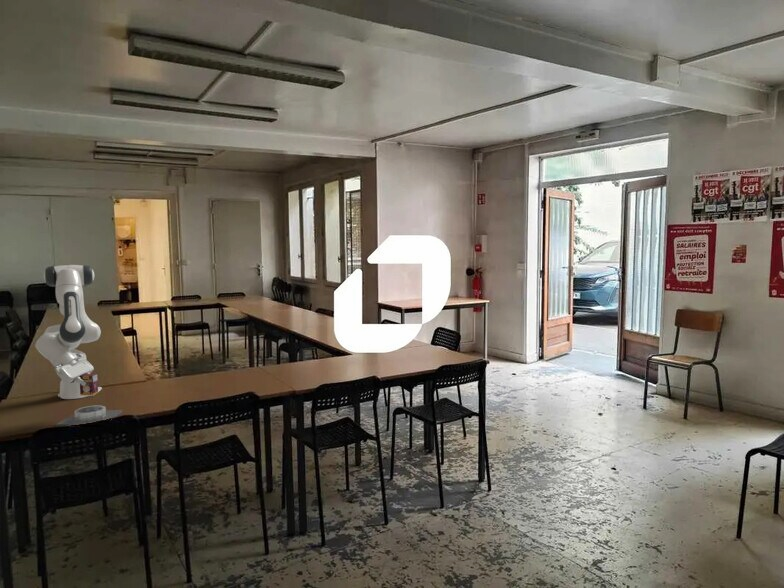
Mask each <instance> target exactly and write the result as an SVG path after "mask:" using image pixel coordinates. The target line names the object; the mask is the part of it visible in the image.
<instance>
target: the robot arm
mask: <svg viewBox="0 0 784 588" xmlns="http://www.w3.org/2000/svg"><path fill="white" fill-rule="evenodd" d="M95 276H96V275H95V272H94V269H93V268H92V266H90V265H87V264H83V265H81V264H68V265H67V264H66V265H65V264H64V265H50V266H47V267H45V270H44V272H43V280H44V282H45V285H47V286H49V287H54V288H55V299H56V302H57V304H59V306H58V307H59V313H60V314H61V315H62V316H63V321H62V322H61V323H60V324H54V325H51V326H47V328H46V329H45V330H44V332H43V333H42V334H41V335H40V336H38V337H37V339H36V341H35V342H34V347H35V349H36V350H37V351H38V352H39V353H40V355H41V356H43V358H45V359H46V360H48V361H49V362H50V363H51V365H52V366H53V367H54V370H55V372H56V374H57V376H58V377H59V378H60V379H61V380H60V383H59V393H58V394H57V397H59V398H60V399H64V400H75V399H76V400H77V399H83V398H87V397H94V396H95V395H80V384H81V385H82V386H85V385H86V384H87V382H86V381H85V380H82V379H80V376H81V375H83V374H92V372H93V371H94V370H95V369H94V366H93V364H91V363H90V361H88V360H87V355H86V353H85V352H83V351H81V350H79V349H77V348H78V347H79V346H80V345H81V344H89V343H92V342H95V341H96V342H97V341H98V340H99V339H100V337H101V334H102V331H101V328H100V326H99V325H98V324H97V323H96V322H94V321H93V320H91V319H90V318H89V316H88V315H87V313H86V310H85V309H86V308H85V302H84V291H83V290H84V289H83V286H84V288H86V287H88V286H90V285H92V284H93V282H94V280H95ZM101 390H103V388H102V387H101V386H98V393H99V392H100V391H101Z"/></svg>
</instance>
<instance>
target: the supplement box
mask: <svg viewBox="0 0 784 588" xmlns="http://www.w3.org/2000/svg"><path fill="white" fill-rule="evenodd" d="M98 378H99V377H98V373H90V374H83V375H81V376H80V379H82V380H85V381H86V382H87V384H86V385H85V386H82V385H81V384H80V395H94V396H95V395H97V394H98V393H99V392H98V387H99V379H98Z"/></svg>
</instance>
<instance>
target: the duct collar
mask: <svg viewBox="0 0 784 588" xmlns="http://www.w3.org/2000/svg"><path fill="white" fill-rule="evenodd" d="M123 412H124V411H123V409H107V407H106V405H105V406H104V405H101V404H100V405H99V404H98V405H88V406H86V405H85V406H84V407H83V406H82V407H79V408H77V409H75V410H74V413H73V414H71V415H69V416H68V417H66V418H64V419H62V420H61V421H59V422H57V423H55V427H72V426H71V425H79V424H86V423H92V422H96V421H100V420H106V419H109V418H113V417H114V418H117V416H119V415H121V414H123ZM114 418H113V419H114Z"/></svg>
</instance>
